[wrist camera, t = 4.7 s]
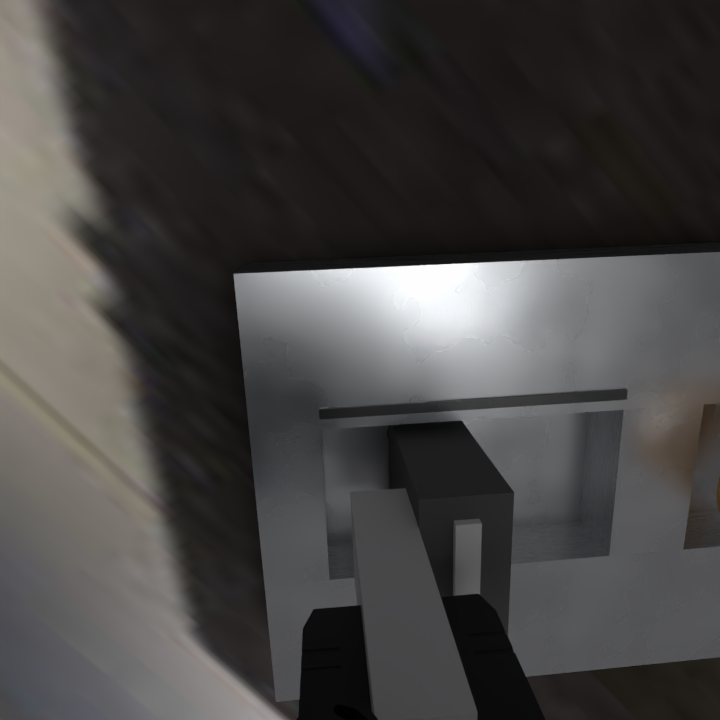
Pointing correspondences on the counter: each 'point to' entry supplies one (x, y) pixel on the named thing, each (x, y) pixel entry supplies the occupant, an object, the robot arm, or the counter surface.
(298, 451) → the panel
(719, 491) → the orange button
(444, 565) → the slider knob
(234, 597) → the counter surface
